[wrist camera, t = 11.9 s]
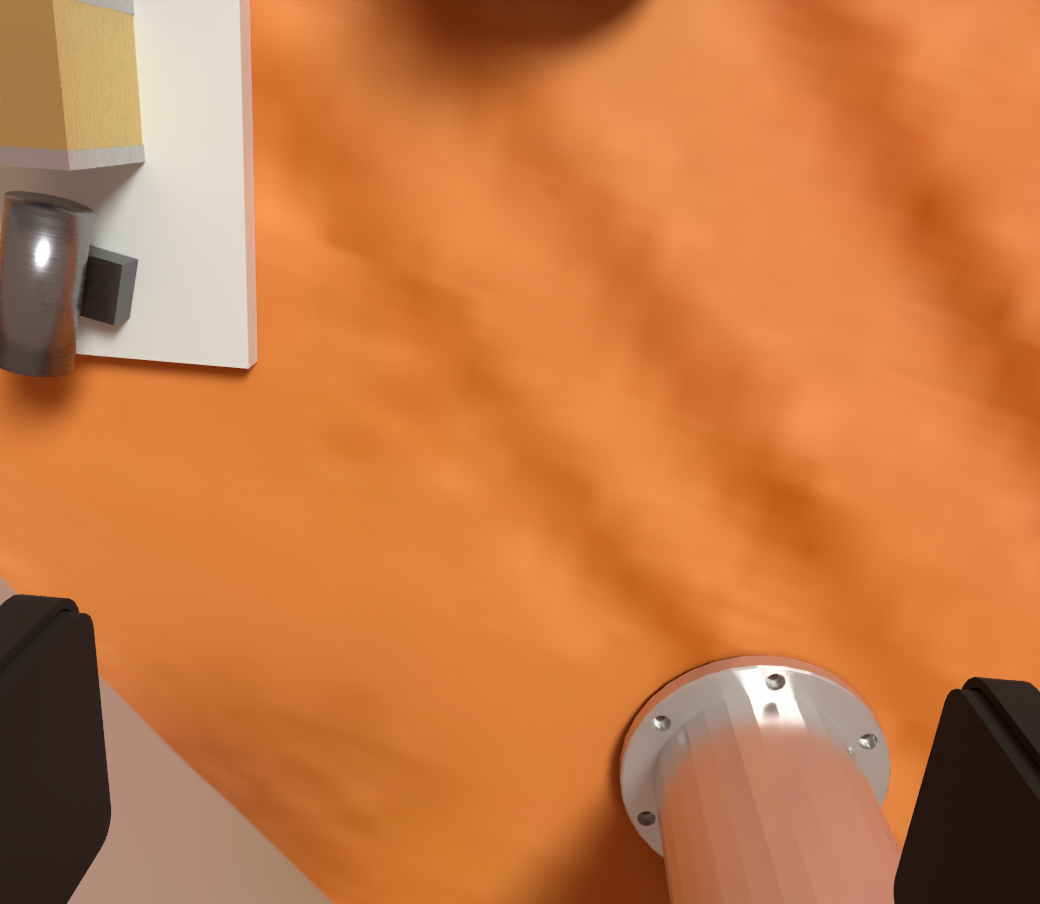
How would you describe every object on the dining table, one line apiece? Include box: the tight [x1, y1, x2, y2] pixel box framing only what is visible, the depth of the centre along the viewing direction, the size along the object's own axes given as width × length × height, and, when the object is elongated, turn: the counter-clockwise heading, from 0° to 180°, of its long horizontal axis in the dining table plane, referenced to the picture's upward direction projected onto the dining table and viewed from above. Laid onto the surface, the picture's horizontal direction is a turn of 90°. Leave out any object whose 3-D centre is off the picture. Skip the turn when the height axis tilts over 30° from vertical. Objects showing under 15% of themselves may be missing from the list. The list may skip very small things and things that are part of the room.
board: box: [0, 0, 258, 369], centre depth 34 cm, size 21×12×1 cm, turn 175°
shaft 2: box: [0, 191, 138, 377], centre depth 34 cm, size 6×4×4 cm
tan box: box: [0, 0, 145, 171], centre depth 31 cm, size 6×4×6 cm
